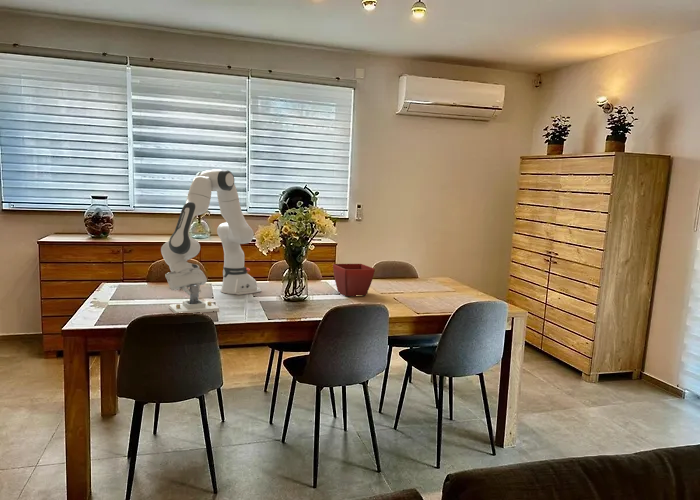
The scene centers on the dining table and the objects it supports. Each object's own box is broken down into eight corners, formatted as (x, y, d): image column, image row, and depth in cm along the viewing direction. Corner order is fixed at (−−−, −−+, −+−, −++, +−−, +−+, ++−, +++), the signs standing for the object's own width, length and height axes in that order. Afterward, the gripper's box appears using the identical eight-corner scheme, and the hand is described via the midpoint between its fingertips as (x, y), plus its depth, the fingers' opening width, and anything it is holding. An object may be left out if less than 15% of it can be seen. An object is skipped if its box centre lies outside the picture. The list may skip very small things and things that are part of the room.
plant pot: (359, 290, 303) (361, 263, 300) (373, 297, 286) (375, 268, 283) (330, 291, 294) (332, 263, 292) (344, 298, 277) (345, 269, 275)
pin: (197, 302, 240) (197, 284, 239) (199, 304, 236) (199, 285, 235) (188, 302, 238) (189, 284, 236) (191, 304, 234) (191, 286, 233)
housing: (209, 304, 249) (210, 297, 248) (219, 310, 237) (219, 303, 237) (169, 307, 238) (169, 300, 237) (176, 315, 226) (176, 307, 226)
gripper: (166, 269, 229) (180, 293, 226) (200, 264, 247) (214, 286, 243) (160, 277, 232) (174, 301, 229) (194, 271, 250) (207, 293, 246)
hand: (195, 293), depth 236 cm, fingers closed on pin, 4 cm apart
